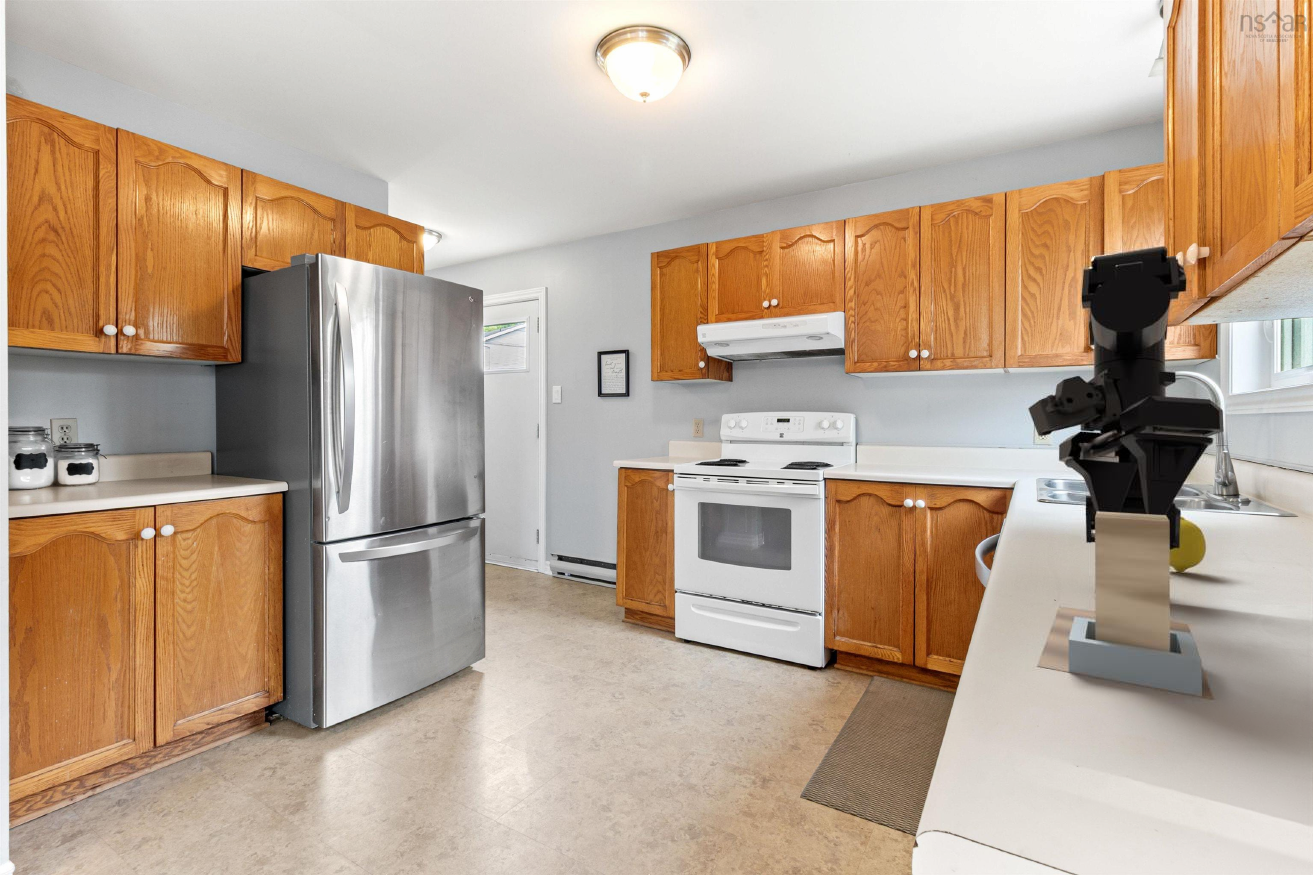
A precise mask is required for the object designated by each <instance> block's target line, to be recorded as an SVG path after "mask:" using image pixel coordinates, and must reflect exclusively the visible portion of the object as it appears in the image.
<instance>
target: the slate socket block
mask: <svg viewBox="0 0 1313 875" xmlns="http://www.w3.org/2000/svg"><path fill="white" fill-rule="evenodd" d="M1202 664H1203V662H1202V658H1201V656H1200V652H1199V650H1198V646H1197V645H1196V641H1195V638H1194V635H1193V633H1192V632H1190V633H1187V632H1180V631H1173V630H1170V652H1166V651H1159V650H1153V649H1147V648H1141V647H1134V646H1128V645H1122V644H1115V643H1109V642H1103V641H1097V640H1095V619H1089V618H1082V617H1075V618H1074V621H1073V625H1072V629H1071V632H1070V636H1069V672H1074V673H1079V674H1084V675H1090V676H1095V677H1100V678H1105V679H1111V680H1116V681H1121V682H1127V683H1132V684H1137V685H1143V686H1148V687H1153V688H1159V689H1164V690H1169V691H1175V692H1180V693H1185V694H1191V695H1196V696H1201V697H1202V668H1203V666H1202ZM1079 674H1078V675H1079ZM1084 675H1083V676H1084ZM1100 678H1099V679H1100ZM1105 679H1104V680H1105ZM1116 681H1115V682H1116ZM1121 682H1120V683H1121ZM1132 684H1131V685H1132ZM1137 685H1136V686H1137ZM1153 688H1152V689H1153ZM1169 691H1168V692H1169ZM1185 694H1184V695H1185ZM1201 697H1200V698H1201Z"/></svg>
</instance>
